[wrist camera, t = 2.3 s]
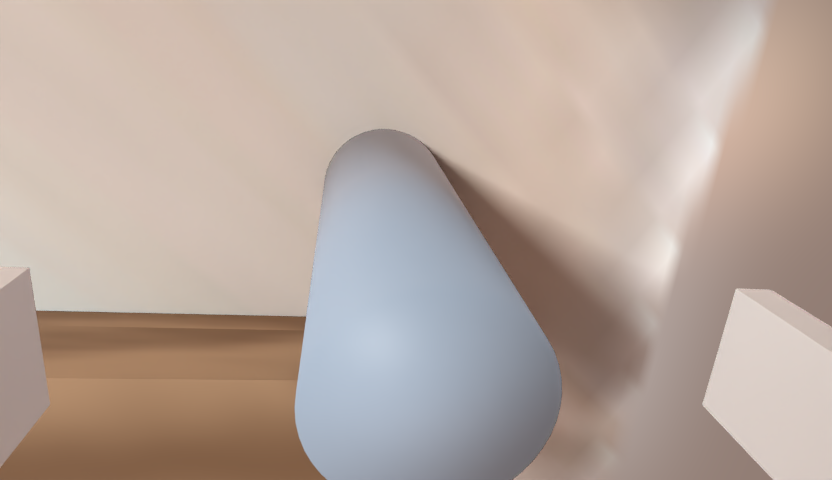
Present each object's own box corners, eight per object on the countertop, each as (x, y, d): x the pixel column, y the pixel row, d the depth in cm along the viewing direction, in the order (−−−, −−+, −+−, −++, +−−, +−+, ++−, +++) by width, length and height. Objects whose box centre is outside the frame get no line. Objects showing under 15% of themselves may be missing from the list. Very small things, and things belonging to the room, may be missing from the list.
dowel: (326, 125, 19) (295, 282, 8) (447, 133, 19) (583, 290, 8) (322, 240, 20) (293, 514, 9) (436, 244, 21) (539, 508, 10)
